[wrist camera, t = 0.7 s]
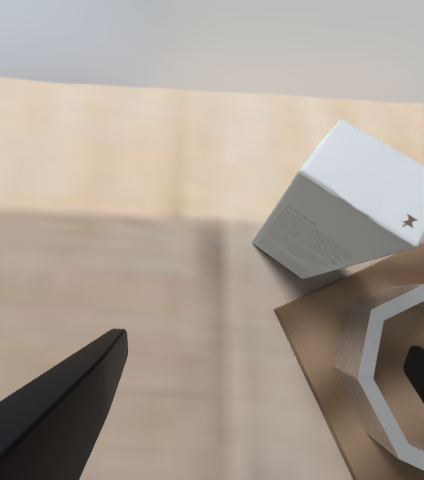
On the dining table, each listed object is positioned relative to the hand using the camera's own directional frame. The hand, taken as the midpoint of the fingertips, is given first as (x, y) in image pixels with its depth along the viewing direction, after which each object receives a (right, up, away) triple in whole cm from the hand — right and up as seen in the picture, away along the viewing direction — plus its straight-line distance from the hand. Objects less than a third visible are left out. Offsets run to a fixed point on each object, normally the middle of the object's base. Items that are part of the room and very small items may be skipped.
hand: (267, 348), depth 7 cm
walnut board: (+14, -7, +12) cm, 20 cm away
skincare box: (+6, +3, +15) cm, 16 cm away
